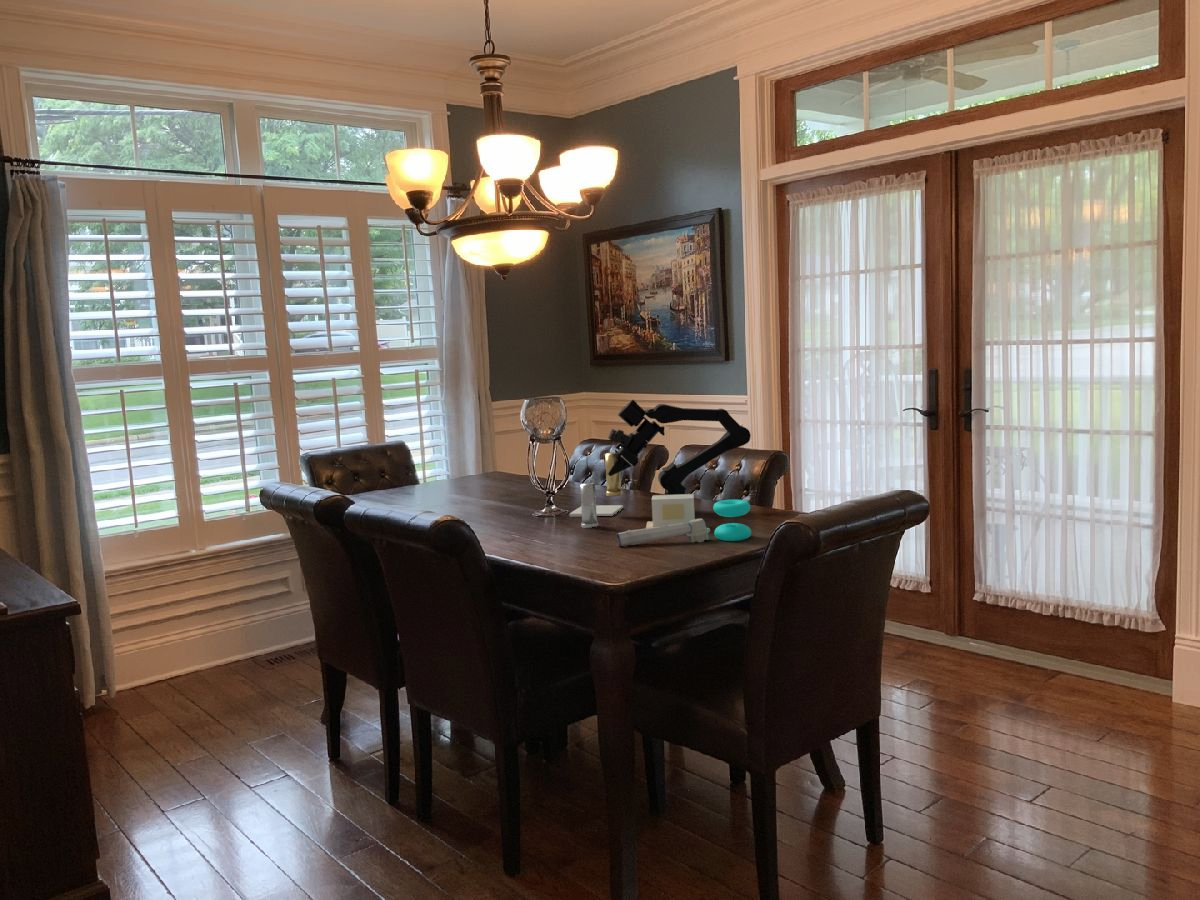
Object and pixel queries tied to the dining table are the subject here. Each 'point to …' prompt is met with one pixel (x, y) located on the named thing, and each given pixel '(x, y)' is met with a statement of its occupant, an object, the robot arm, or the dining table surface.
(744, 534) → the donuts
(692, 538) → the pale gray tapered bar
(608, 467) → the cylinder
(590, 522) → the cylinder
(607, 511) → the plate
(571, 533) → the dining table surface
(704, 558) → the dining table surface
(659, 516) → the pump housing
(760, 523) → the dining table surface
